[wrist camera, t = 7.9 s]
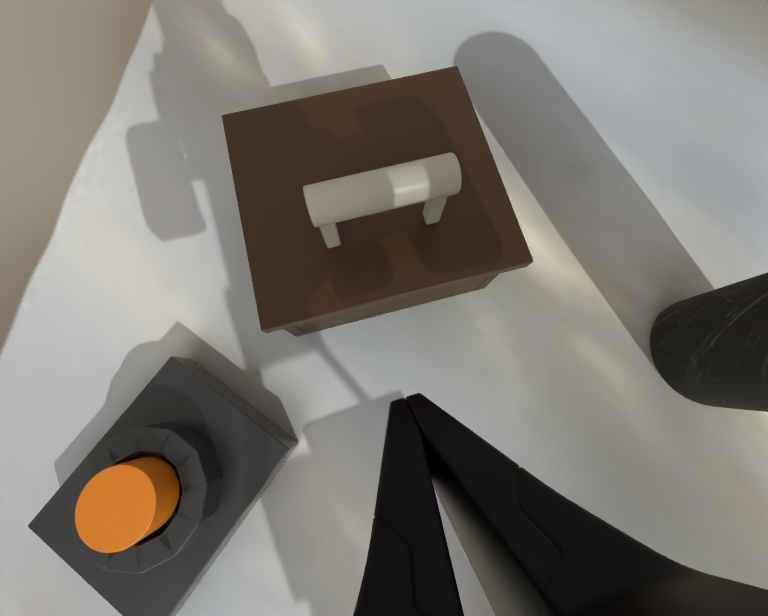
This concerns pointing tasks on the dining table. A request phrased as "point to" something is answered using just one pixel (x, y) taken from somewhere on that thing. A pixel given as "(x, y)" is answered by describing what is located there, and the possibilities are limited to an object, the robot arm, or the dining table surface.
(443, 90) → the lid
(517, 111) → the dining table surface
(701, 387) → the travel mug
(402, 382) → the dining table surface
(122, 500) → the release button
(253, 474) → the control block
